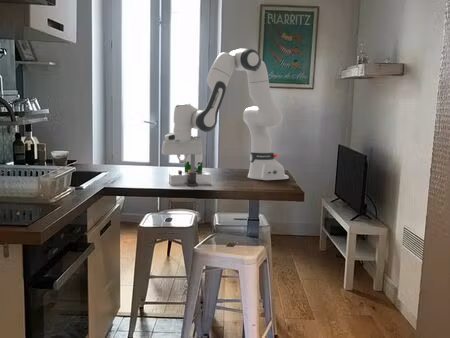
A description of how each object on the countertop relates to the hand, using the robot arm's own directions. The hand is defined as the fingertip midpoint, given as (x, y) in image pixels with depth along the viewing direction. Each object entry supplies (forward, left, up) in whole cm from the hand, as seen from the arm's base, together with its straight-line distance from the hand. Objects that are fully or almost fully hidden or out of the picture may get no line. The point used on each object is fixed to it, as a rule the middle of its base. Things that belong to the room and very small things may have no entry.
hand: (182, 163), depth 250 cm
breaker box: (-4, 0, -10) cm, 11 cm away
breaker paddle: (-4, 0, -5) cm, 6 cm away
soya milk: (-8, -10, -10) cm, 17 cm away
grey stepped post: (-4, +7, -10) cm, 13 cm away
